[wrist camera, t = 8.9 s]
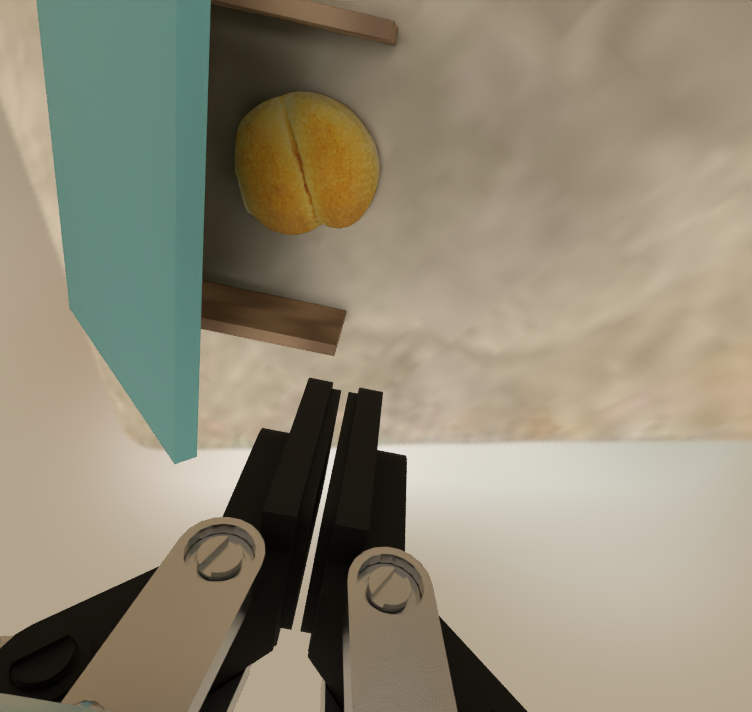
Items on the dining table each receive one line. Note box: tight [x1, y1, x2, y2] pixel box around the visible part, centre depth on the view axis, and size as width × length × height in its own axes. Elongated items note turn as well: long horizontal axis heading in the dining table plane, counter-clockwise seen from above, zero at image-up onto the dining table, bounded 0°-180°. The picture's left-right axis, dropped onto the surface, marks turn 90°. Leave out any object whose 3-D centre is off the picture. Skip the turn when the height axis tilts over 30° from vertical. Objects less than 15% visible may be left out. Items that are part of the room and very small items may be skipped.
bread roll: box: [234, 91, 380, 235], centre depth 31 cm, size 8×9×4 cm
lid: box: [37, 0, 211, 464], centre depth 23 cm, size 16×19×1 cm
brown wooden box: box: [201, 0, 398, 356], centre depth 31 cm, size 16×19×6 cm
